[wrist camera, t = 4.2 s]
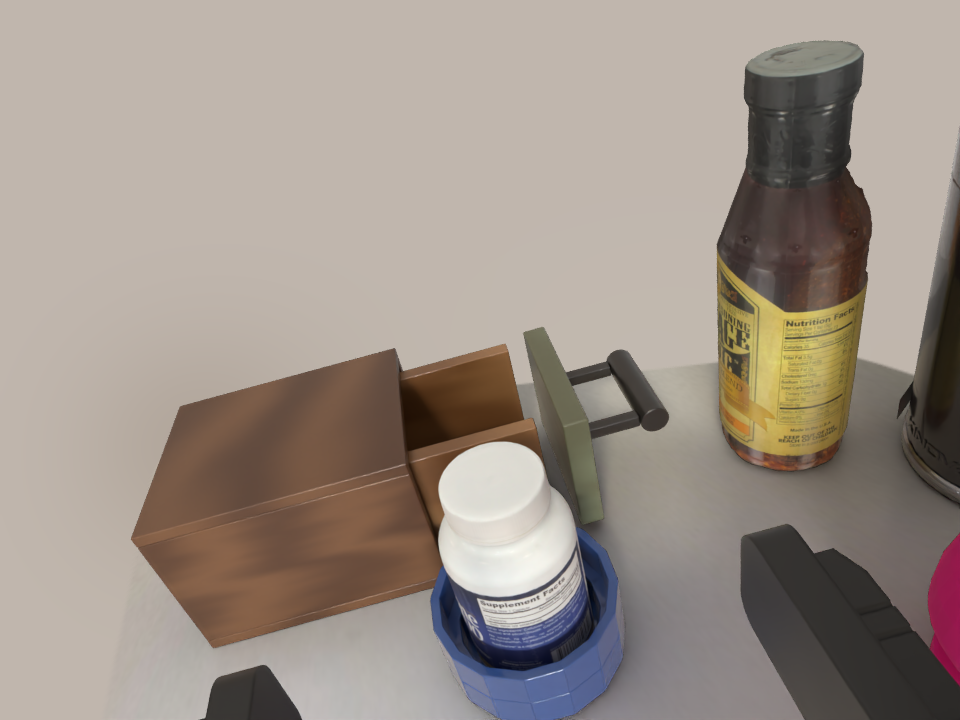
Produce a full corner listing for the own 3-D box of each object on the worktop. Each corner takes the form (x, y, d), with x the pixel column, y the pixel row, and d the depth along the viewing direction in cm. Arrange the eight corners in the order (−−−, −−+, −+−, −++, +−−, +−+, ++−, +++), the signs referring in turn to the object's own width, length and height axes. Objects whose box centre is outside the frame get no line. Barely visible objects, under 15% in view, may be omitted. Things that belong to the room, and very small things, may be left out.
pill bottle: (473, 592, 32) (420, 442, 27) (584, 573, 32) (552, 416, 26) (478, 703, 28) (416, 549, 22) (607, 682, 27) (574, 520, 22)
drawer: (628, 399, 41) (617, 306, 37) (685, 497, 34) (679, 394, 30) (380, 466, 40) (344, 379, 37) (385, 579, 33) (342, 486, 30)
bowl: (594, 547, 33) (585, 498, 31) (652, 697, 27) (645, 646, 25) (442, 589, 33) (423, 543, 31) (463, 750, 27) (441, 703, 25)
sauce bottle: (720, 400, 40) (713, 44, 29) (838, 402, 38) (880, 17, 27) (718, 480, 35) (710, 88, 24) (854, 488, 33) (913, 59, 22)
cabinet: (432, 456, 41) (395, 347, 37) (451, 583, 33) (406, 463, 29) (240, 508, 41) (179, 405, 37) (212, 648, 33) (129, 539, 29)
